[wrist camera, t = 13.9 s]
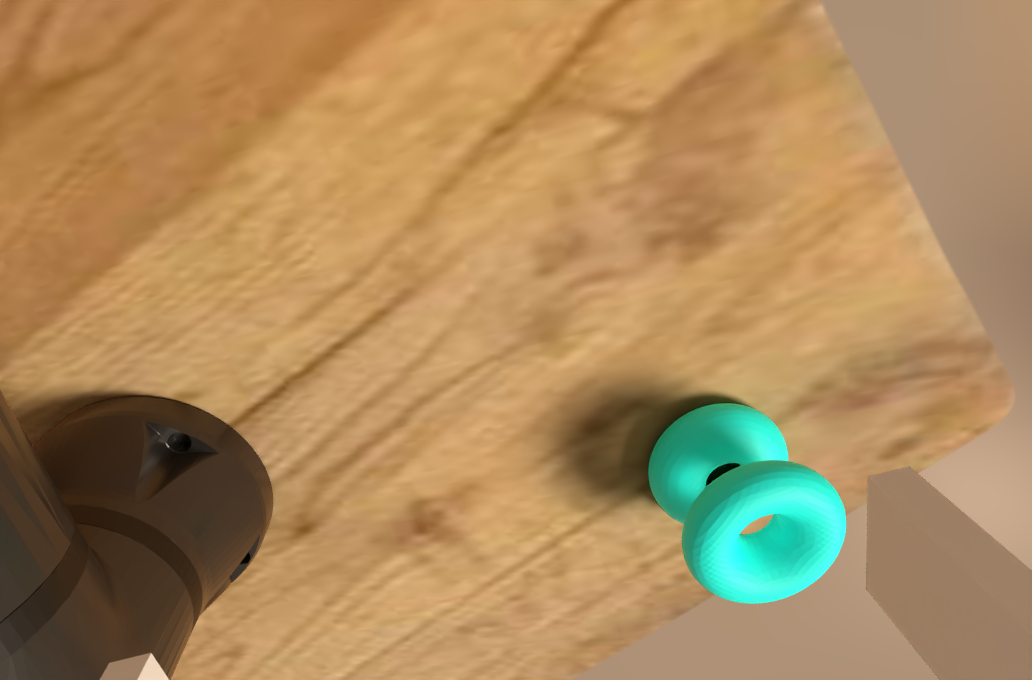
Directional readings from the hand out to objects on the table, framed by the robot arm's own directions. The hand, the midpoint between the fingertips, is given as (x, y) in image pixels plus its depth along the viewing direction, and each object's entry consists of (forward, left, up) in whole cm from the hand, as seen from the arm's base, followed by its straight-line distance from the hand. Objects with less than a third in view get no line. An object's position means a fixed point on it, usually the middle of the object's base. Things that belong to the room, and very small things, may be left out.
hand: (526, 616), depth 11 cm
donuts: (+13, -20, -29) cm, 38 cm away
